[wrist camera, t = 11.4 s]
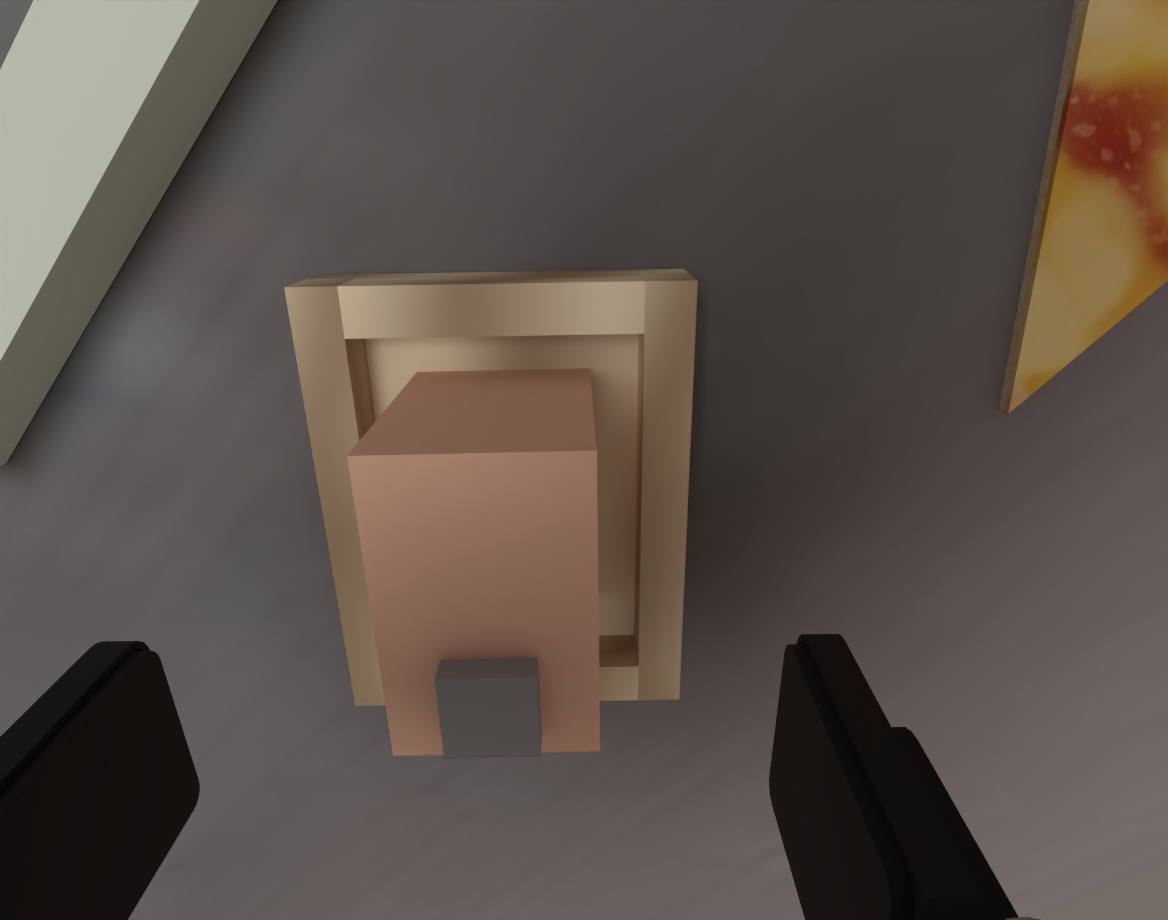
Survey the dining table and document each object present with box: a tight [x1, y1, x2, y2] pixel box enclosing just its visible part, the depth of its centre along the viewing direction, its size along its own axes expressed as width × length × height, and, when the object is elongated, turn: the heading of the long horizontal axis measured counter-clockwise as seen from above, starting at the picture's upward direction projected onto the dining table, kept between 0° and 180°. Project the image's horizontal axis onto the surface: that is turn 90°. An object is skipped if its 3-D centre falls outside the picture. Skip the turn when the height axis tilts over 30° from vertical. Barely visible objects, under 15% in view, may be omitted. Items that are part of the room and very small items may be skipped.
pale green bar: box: [0, 0, 278, 466], centre depth 15 cm, size 22×2×3 cm, turn 140°
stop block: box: [347, 368, 600, 758], centre depth 16 cm, size 4×7×7 cm, turn 1°
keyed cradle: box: [284, 269, 698, 706], centre depth 19 cm, size 9×12×2 cm
